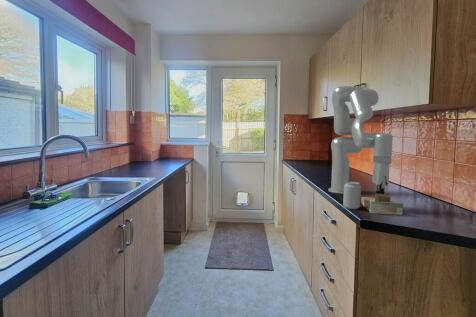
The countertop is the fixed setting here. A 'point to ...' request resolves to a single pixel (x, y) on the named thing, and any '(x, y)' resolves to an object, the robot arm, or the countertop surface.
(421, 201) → the countertop surface
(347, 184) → the can
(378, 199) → the block
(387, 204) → the deck
